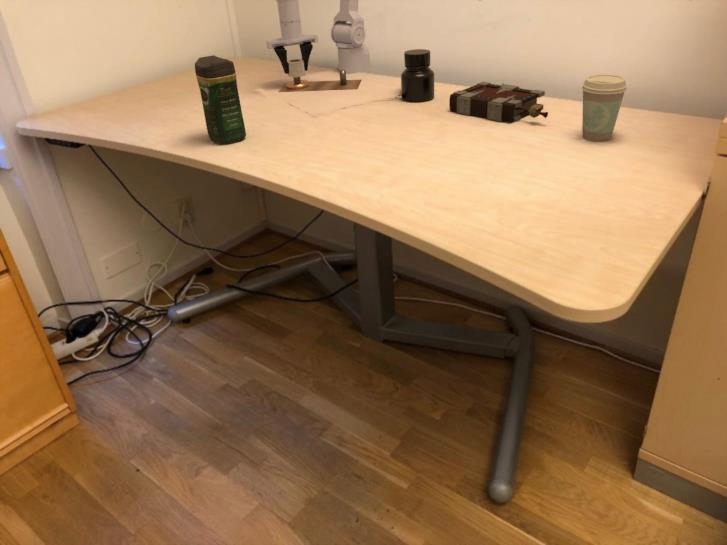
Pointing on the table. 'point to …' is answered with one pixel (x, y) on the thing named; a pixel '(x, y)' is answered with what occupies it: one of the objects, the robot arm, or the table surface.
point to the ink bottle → (417, 76)
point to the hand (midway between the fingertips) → (296, 71)
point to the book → (497, 102)
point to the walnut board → (325, 86)
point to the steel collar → (296, 67)
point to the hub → (297, 84)
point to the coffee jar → (220, 99)
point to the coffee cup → (601, 105)
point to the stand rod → (343, 77)
